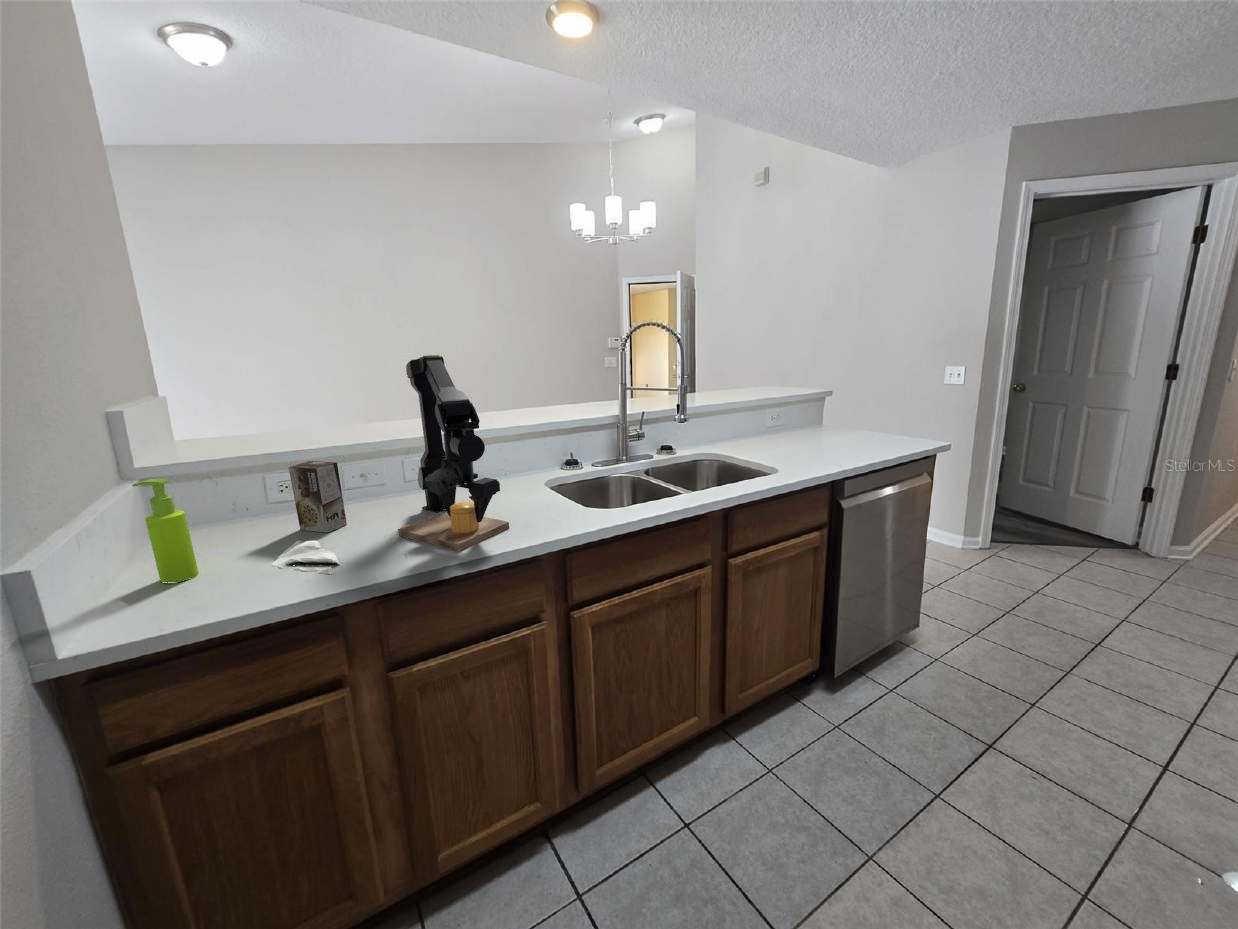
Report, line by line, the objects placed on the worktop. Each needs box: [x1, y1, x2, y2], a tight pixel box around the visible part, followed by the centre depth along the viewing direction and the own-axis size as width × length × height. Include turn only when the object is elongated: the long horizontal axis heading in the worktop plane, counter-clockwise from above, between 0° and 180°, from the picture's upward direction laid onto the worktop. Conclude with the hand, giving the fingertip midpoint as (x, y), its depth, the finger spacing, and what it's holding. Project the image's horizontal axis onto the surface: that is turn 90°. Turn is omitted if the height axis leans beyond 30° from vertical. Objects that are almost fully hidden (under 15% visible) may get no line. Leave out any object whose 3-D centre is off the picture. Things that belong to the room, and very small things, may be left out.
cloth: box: [271, 539, 341, 575], centre depth 114 cm, size 26×14×2 cm, turn 31°
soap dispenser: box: [131, 478, 199, 583], centre depth 103 cm, size 6×7×20 cm
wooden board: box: [397, 510, 510, 552], centre depth 127 cm, size 20×16×2 cm
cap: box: [450, 501, 479, 533], centre depth 124 cm, size 6×6×6 cm
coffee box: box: [288, 460, 348, 533], centre depth 131 cm, size 9×6×16 cm
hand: (465, 518), depth 124 cm, fingers open, 9 cm apart
